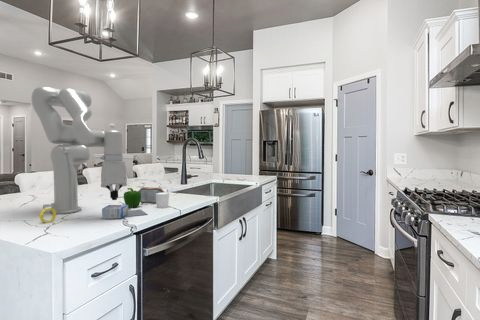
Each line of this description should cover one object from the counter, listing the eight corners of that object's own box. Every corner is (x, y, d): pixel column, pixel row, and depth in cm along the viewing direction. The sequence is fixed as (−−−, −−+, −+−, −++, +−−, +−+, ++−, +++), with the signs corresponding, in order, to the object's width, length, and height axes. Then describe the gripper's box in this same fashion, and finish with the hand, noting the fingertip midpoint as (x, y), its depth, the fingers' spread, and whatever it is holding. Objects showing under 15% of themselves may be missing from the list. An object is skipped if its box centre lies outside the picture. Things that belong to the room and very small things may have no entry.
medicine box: (108, 204, 130) (128, 204, 131) (108, 214, 130) (128, 214, 131) (101, 208, 122) (122, 208, 123) (101, 219, 122) (122, 218, 123)
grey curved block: (165, 202, 161) (165, 187, 160) (163, 203, 157) (162, 188, 157) (139, 202, 162) (138, 187, 162) (136, 203, 159) (136, 187, 159)
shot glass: (171, 205, 151) (171, 192, 151) (164, 208, 145) (164, 194, 144) (160, 205, 153) (160, 191, 153) (152, 207, 147) (152, 193, 147)
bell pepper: (140, 204, 154) (140, 186, 154) (142, 207, 147) (142, 188, 146) (123, 206, 151) (123, 186, 150) (124, 209, 143) (124, 188, 143)
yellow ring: (44, 224, 115) (42, 210, 115) (39, 224, 116) (37, 209, 116) (57, 220, 121) (56, 206, 120) (53, 219, 122) (51, 205, 121)
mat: (108, 219, 122) (108, 218, 122) (104, 213, 133) (104, 213, 133) (147, 214, 131) (147, 214, 131) (140, 209, 141) (140, 209, 141)
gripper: (95, 159, 121) (96, 202, 122) (132, 158, 129) (133, 199, 130) (93, 158, 127) (94, 200, 128) (129, 157, 135) (130, 197, 136)
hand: (114, 199), depth 129 cm, fingers closed
